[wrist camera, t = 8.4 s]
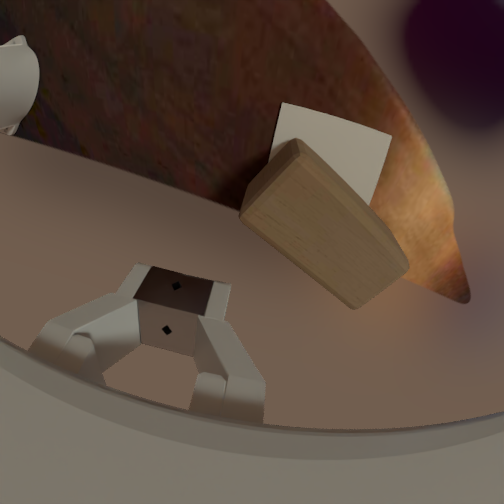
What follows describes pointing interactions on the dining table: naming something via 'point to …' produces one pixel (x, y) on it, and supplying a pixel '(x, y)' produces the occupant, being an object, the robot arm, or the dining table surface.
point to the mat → (336, 145)
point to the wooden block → (322, 225)
